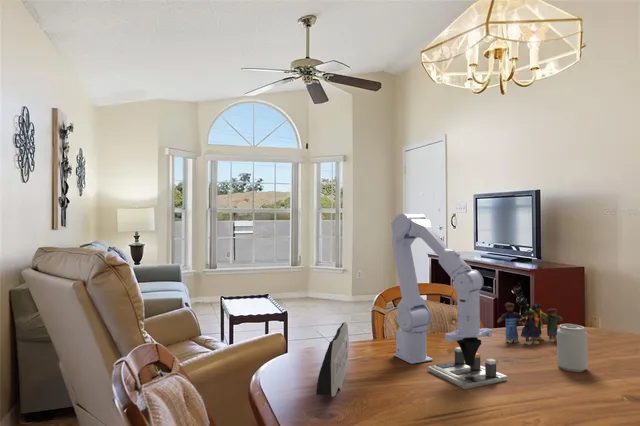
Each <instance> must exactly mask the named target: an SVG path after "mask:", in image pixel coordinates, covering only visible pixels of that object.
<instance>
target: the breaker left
mask: <svg viewBox="0 0 640 426" xmlns="http://www.w3.org/2000/svg"><path fill="white" fill-rule="evenodd" d="M454 361H455V362H456V363H459V364H460V363H465V360H464V356H463V353H462V350H461V348H460V346H457V347H454Z"/></svg>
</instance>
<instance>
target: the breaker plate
mask: <svg viewBox="0 0 640 426" xmlns="http://www.w3.org/2000/svg"><path fill="white" fill-rule="evenodd" d="M427 372H429V373H431V374H433V375H435V376H438V378H441V379H443V380H445V381H446V382H447V381H448V382H449V383H451V384H454V385H455V386H457V387H458V388H459V387H460V388H461V389H464V390H466V389H467V390H468V389H472V388H477V387H481V386H482V387H483V386H487V385H491V384H496V383H501V382H503V383H504V382H507V381H508V376H507V375H505V374H503V373H500V372H498V371H496V376H493V377H489V376H487V375H485V366H484V365H481V364H480V369H477V370H474V369H472V368H470V366H468V365H466V364H465V363H460V364H459V363H456V362H455V360H454V361H450V362H443V363H437V364H434V365H430V366H427Z"/></svg>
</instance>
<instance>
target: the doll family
mask: <svg viewBox="0 0 640 426" xmlns="http://www.w3.org/2000/svg"><path fill="white" fill-rule="evenodd" d="M504 307H505V310H506V311H507V312H505V313H504V314H502V315H501V316H500V317H499V318H498V320H497V321H496V322H497V323H498V324H500V323H501V322H503V321H505V322H504V323H505V326H504V327H505V342H506V343H507V342H509V343H508V344H512V343H516V342H518V343H520V341H519V334H518V326H523V327H522V330H521V333H520V337H522V338H525V340H524V344H525V345H532V344H535V345H537V344H540V342H539V341H538V340H539V339H541V340H543V337H542V336H541V335H542V334H543V333H542V328H543V327H544V326H543V323H547V324H546V333H547V334H546V335H547V337H548V340H547V342H549V341H550V342H551V343H554V342H557V330H558V329H559V327H558V322H563V316H559V315H557V313H558V309H557V308H548V309H546V312H547V313H548V314H546V313H544V312H543V311H542V309H541V307H542V305H541V304H539V303H533V304H532V305H531V308H529V310H526V311H524V313H523V316H522V315H521V314H520V313H518V312H515V311H514V308H515V307H516V306H515V304H514V303H513V302H512V303H511V302H505V304H504ZM530 340H531V341H530ZM513 341H514V342H513Z"/></svg>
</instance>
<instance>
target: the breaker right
mask: <svg viewBox="0 0 640 426" xmlns="http://www.w3.org/2000/svg"><path fill="white" fill-rule="evenodd" d="M484 361H485V362H484V367H485V375H487V376H489V377H493V376H496V372H497V360H496V359H494V358H487V359H485V360H484Z"/></svg>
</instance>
